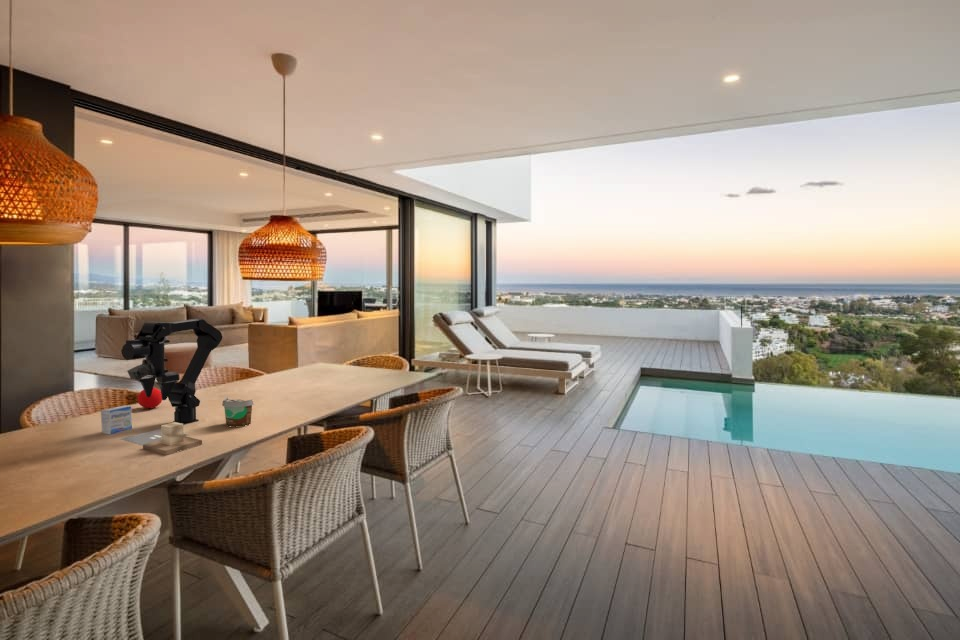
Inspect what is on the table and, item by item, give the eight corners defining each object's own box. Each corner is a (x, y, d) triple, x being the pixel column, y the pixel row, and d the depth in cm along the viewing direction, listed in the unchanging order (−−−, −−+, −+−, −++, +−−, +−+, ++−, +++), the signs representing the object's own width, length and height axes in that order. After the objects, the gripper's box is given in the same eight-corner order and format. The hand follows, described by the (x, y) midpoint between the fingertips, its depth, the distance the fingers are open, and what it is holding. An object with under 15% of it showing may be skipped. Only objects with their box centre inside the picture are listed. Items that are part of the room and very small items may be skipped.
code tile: (161, 429, 179) (161, 428, 179) (188, 435, 172) (188, 434, 172) (119, 439, 166) (119, 438, 166) (147, 446, 159) (147, 446, 159)
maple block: (175, 439, 163) (174, 422, 162) (183, 441, 161) (183, 423, 160) (161, 443, 159) (161, 425, 158) (170, 445, 157) (169, 427, 156)
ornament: (167, 407, 209) (166, 384, 208) (143, 412, 202) (143, 388, 201) (157, 404, 214) (156, 382, 213) (133, 408, 206) (133, 385, 206)
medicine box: (110, 435, 171) (109, 411, 170) (101, 433, 172) (100, 409, 172) (132, 429, 178) (131, 405, 178) (123, 427, 180) (123, 404, 179)
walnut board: (179, 439, 168) (179, 434, 168) (202, 444, 163) (201, 440, 163) (143, 449, 157) (142, 444, 157) (165, 455, 152) (165, 450, 152)
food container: (214, 426, 183) (214, 400, 183) (226, 422, 189) (226, 397, 189) (242, 429, 181) (242, 403, 180) (253, 424, 186) (253, 399, 186)
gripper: (115, 356, 171) (117, 400, 172) (147, 361, 163) (148, 406, 164) (148, 353, 181) (149, 394, 182) (180, 357, 173) (181, 399, 174)
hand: (156, 398), depth 176 cm, fingers open, 9 cm apart
